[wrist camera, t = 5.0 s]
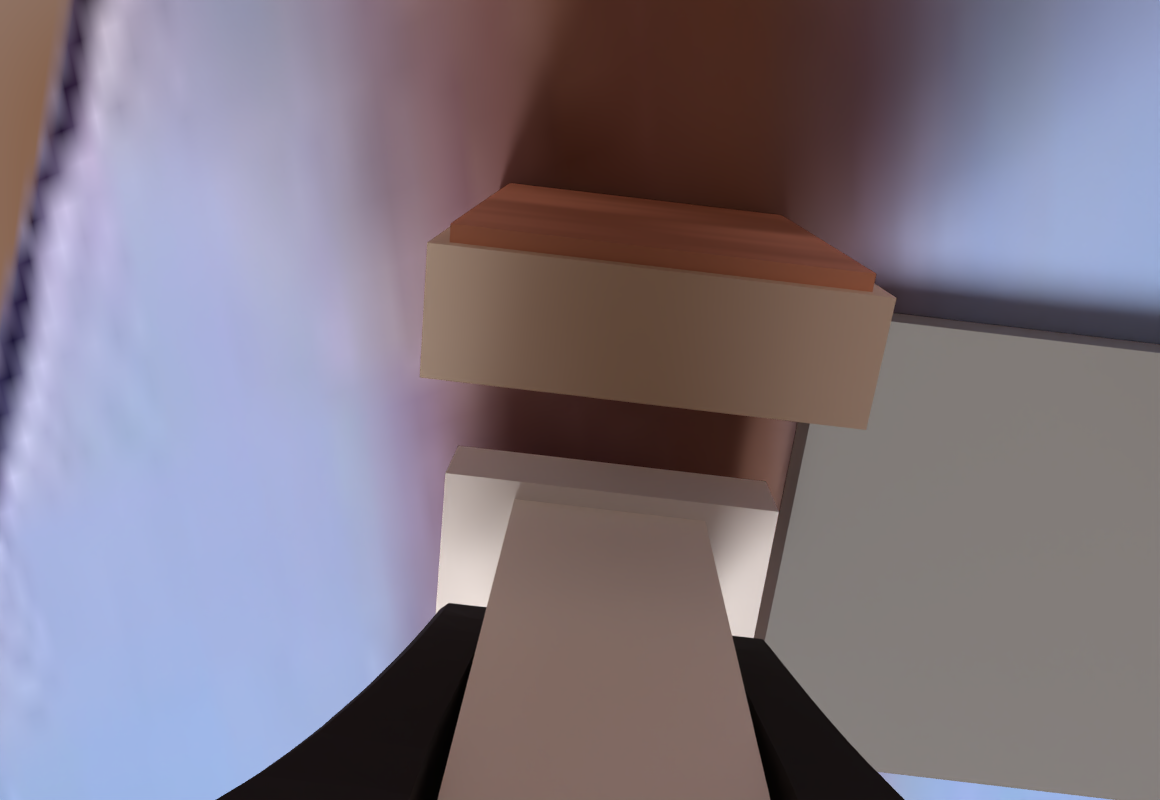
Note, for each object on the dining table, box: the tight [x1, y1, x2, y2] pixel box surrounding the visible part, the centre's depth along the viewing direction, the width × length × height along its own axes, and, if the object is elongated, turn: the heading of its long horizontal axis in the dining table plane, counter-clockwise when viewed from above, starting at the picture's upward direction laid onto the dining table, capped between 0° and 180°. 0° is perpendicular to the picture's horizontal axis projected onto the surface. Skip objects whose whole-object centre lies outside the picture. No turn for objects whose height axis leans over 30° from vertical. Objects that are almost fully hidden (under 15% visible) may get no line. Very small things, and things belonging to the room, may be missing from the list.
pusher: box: [436, 446, 779, 800], centre depth 11 cm, size 5×4×9 cm
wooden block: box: [420, 183, 896, 430], centre depth 12 cm, size 5×2×6 cm, turn 84°
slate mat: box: [754, 313, 1160, 800], centre depth 16 cm, size 8×9×1 cm
